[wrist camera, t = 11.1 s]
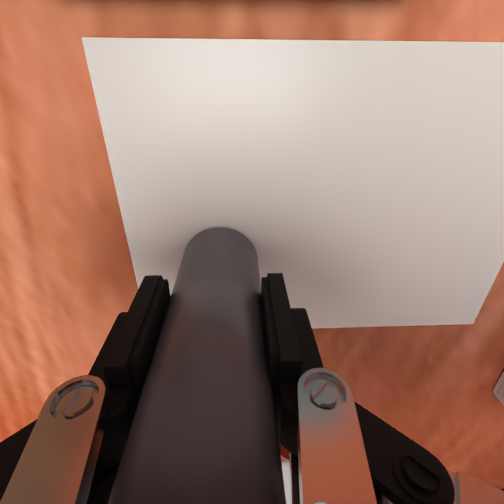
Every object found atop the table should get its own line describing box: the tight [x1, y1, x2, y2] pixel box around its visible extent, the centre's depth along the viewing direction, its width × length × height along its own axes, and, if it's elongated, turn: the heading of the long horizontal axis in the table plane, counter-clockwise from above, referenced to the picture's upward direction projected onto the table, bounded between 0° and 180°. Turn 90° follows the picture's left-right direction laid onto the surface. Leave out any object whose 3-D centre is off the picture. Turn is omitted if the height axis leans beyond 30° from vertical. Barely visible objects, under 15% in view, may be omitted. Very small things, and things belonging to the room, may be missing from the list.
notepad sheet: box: [82, 37, 504, 329], centre depth 14 cm, size 18×13×1 cm
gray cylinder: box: [108, 228, 286, 504], centre depth 9 cm, size 4×4×12 cm
